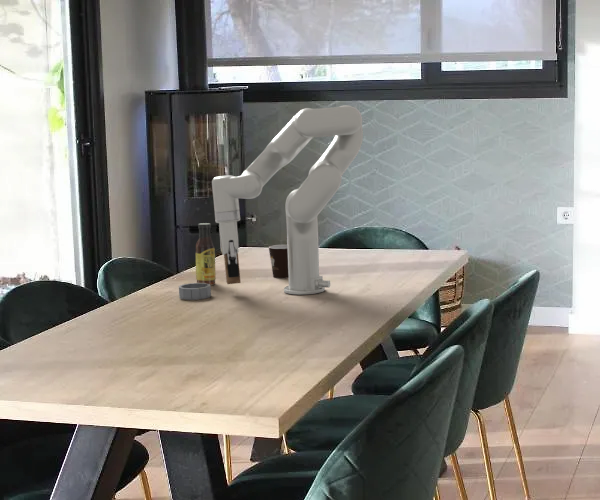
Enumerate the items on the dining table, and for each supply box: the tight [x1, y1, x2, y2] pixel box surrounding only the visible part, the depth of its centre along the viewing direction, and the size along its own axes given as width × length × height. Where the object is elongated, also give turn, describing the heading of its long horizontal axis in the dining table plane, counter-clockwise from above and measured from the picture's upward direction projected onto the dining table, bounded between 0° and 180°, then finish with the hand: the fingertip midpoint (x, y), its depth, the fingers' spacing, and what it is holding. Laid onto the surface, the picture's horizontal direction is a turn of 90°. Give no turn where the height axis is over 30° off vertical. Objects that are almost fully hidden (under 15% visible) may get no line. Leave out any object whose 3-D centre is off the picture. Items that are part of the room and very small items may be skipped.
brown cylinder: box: [223, 249, 242, 285], centre depth 342 cm, size 4×4×10 cm
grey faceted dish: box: [178, 282, 212, 301], centre depth 341 cm, size 10×10×3 cm
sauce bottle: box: [195, 222, 216, 286], centre depth 360 cm, size 6×6×20 cm
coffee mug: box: [268, 244, 289, 279], centre depth 372 cm, size 12×9×10 cm
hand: (233, 275), depth 342 cm, fingers closed on brown cylinder, 4 cm apart
